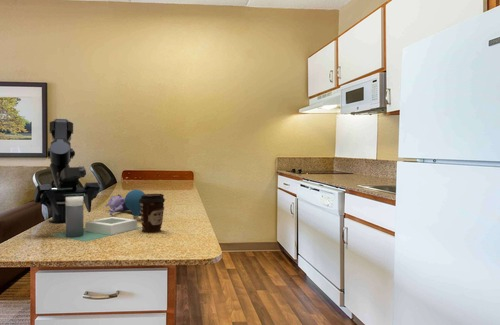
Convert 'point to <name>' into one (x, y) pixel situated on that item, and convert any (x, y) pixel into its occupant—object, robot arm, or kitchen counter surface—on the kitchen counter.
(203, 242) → the kitchen counter surface
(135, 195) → the light bulb
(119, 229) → the board
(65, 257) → the kitchen counter surface
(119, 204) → the toy
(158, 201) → the coffee cup
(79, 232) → the dome-topped cylinder
